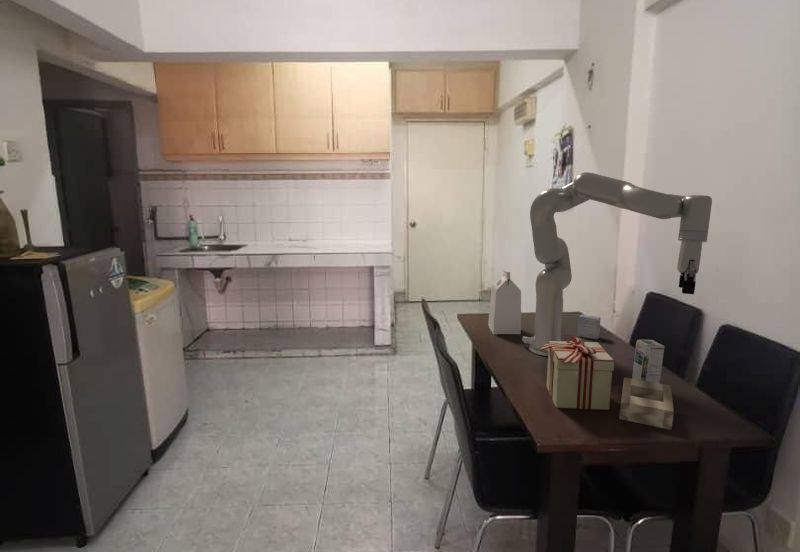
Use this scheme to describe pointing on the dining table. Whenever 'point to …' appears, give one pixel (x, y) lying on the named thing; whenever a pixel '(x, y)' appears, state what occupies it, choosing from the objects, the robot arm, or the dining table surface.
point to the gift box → (579, 374)
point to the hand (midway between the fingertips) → (686, 290)
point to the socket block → (647, 403)
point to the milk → (505, 306)
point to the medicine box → (588, 326)
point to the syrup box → (648, 361)
